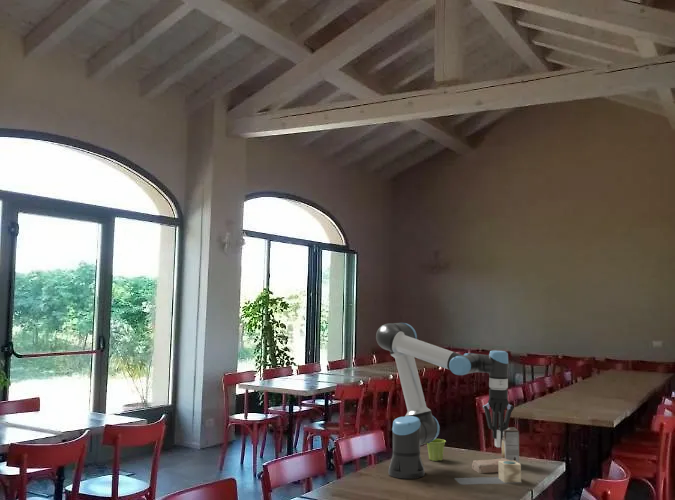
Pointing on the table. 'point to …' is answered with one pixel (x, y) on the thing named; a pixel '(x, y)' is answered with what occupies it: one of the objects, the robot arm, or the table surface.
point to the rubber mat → (481, 480)
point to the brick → (487, 465)
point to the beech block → (509, 471)
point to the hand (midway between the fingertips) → (497, 446)
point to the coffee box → (510, 444)
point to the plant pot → (436, 449)
